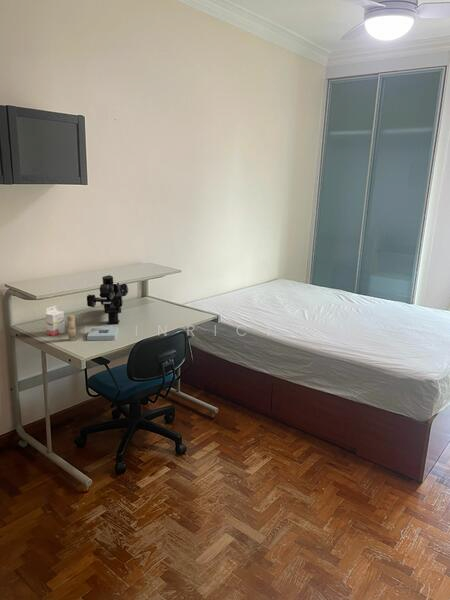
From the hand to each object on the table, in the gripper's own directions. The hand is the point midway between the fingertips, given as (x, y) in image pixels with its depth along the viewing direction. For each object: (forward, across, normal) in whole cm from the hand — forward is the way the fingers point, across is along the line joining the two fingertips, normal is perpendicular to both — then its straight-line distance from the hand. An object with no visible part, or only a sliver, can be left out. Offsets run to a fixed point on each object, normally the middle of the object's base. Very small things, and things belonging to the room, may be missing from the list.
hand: (101, 306), depth 233 cm
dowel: (+7, -14, +16) cm, 23 cm away
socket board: (+1, 0, +17) cm, 17 cm away
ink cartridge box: (-3, -26, +17) cm, 32 cm away
